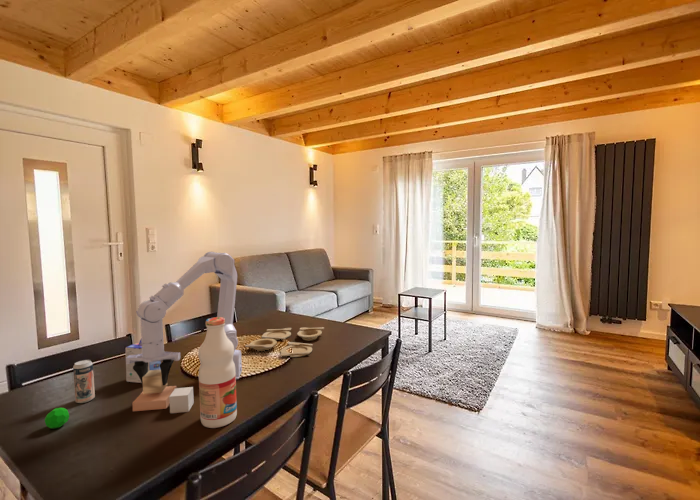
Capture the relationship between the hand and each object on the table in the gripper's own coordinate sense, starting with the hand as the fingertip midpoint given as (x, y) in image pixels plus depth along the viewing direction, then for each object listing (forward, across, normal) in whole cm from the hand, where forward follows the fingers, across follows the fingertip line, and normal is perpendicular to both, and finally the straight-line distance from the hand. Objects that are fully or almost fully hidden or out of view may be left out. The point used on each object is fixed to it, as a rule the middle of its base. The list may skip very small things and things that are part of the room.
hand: (155, 384), depth 103 cm
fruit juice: (+6, +21, -13) cm, 25 cm away
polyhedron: (+6, -21, -9) cm, 24 cm away
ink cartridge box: (+6, -10, +17) cm, 21 cm away
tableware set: (+6, +38, +45) cm, 59 cm away
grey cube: (+6, +9, -5) cm, 12 cm away
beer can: (+6, -22, +5) cm, 23 cm away
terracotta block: (+6, 0, 0) cm, 6 cm away
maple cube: (+2, 0, 0) cm, 2 cm away
